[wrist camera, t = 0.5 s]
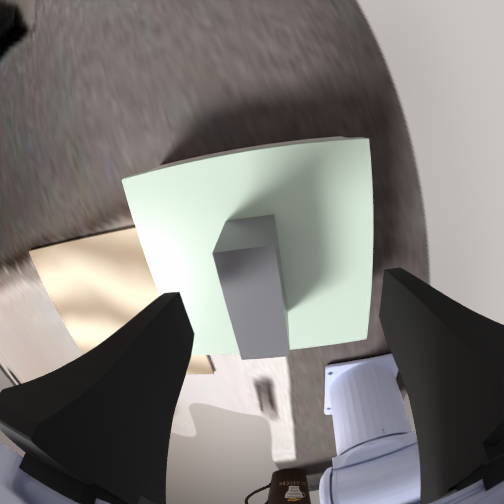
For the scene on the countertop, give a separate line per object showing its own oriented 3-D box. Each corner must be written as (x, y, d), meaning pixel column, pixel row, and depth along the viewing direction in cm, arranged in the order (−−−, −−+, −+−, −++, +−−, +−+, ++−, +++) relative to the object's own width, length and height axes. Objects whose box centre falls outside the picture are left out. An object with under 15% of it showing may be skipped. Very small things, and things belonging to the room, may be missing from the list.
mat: (213, 371, 26) (213, 374, 26) (93, 365, 29) (92, 367, 28) (161, 221, 20) (159, 223, 19) (30, 250, 22) (28, 251, 21)
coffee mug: (320, 470, 40) (322, 513, 31) (291, 480, 44) (290, 520, 35) (272, 461, 38) (270, 511, 29) (244, 471, 41) (240, 515, 32)
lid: (359, 318, 19) (379, 378, 14) (192, 334, 21) (173, 394, 15) (355, 135, 14) (399, 146, 8) (139, 171, 15) (84, 199, 10)
